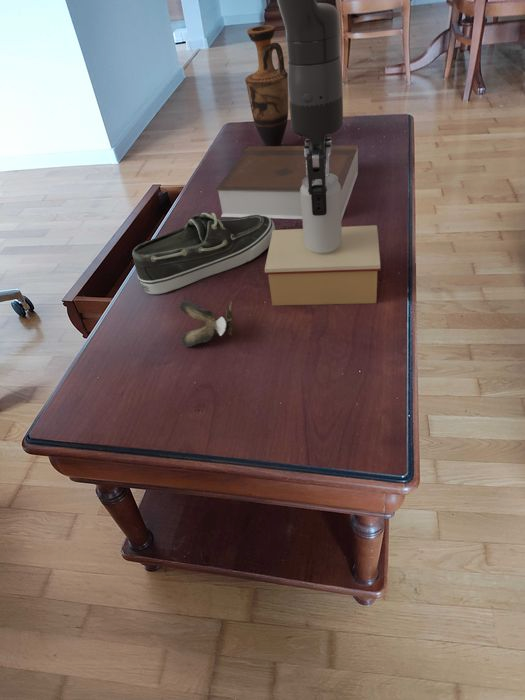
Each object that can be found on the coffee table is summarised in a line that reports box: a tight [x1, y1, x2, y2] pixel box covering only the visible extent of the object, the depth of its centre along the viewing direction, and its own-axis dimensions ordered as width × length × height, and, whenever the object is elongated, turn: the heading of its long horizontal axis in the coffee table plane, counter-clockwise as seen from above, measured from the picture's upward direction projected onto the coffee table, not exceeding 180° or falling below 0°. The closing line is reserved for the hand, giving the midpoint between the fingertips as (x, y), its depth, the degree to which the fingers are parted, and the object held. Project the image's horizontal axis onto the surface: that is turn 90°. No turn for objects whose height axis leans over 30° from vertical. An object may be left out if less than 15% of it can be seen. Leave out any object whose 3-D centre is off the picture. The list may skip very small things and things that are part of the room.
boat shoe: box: [131, 212, 276, 295], centre depth 100 cm, size 11×31×10 cm, turn 125°
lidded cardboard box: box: [264, 224, 382, 306], centre depth 91 cm, size 19×13×8 cm
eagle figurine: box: [178, 300, 234, 348], centre depth 85 cm, size 8×7×9 cm
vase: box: [244, 24, 289, 146], centre depth 133 cm, size 11×11×30 cm
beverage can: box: [300, 173, 342, 254], centre depth 84 cm, size 6×6×12 cm
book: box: [215, 144, 360, 221], centre depth 121 cm, size 24×28×6 cm
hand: (320, 202), depth 83 cm, fingers open, 7 cm apart
